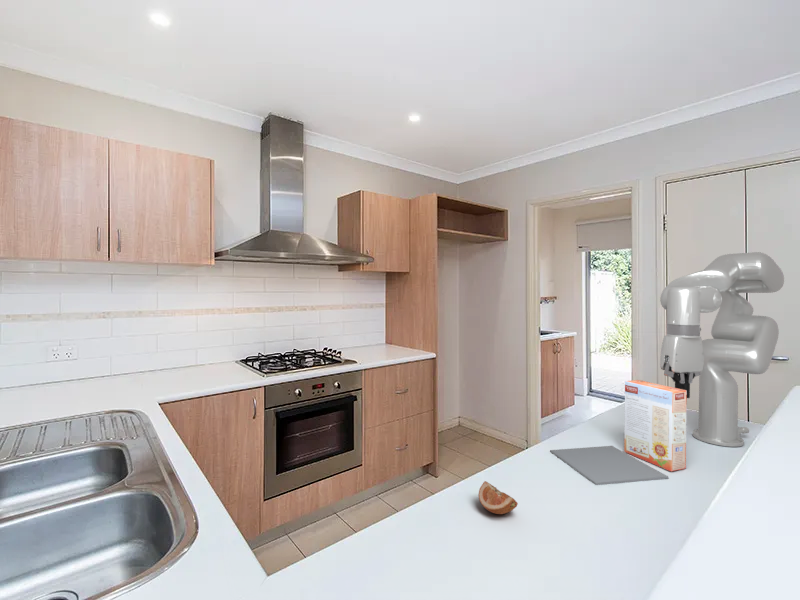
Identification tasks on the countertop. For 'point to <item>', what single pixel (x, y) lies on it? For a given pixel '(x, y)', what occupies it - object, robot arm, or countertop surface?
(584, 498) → the countertop surface
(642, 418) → the cracker box
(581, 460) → the mat
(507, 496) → the fruit slice
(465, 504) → the countertop surface
